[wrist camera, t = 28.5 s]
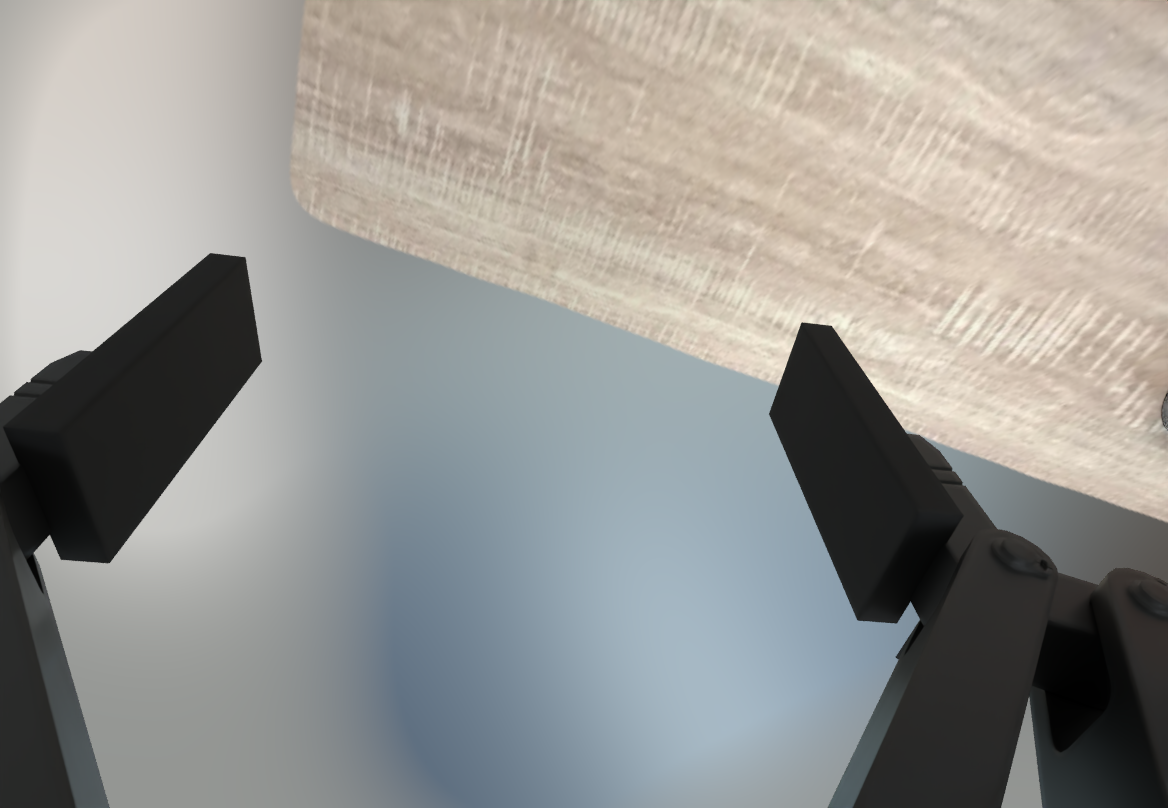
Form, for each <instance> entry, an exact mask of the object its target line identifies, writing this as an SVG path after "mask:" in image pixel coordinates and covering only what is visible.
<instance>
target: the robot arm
mask: <svg viewBox="0 0 1168 808" xmlns="http://www.w3.org/2000/svg"><path fill="white" fill-rule="evenodd" d="M261 362H262V359H261V353H260V346H259V340H258V334H257V327H256V321H255V315H254V308H253V302H252V296H251V289H250V283H249V277H248V270H247V264H246V258H245V257H238V256H230V255H221V254H213V253H210V254H209V255H208V256H206V257H205V258H204V259H203V260H202V261H200V262H199V263H198V264H197V265H196V266H194V267H193V268H192V269H191V270H190V271H189V272H187V273H186V274H185V275H184V276H183V277H181V278H180V279H179V280H178V281H176V282H175V283H174V284H173V285H172V286H171V287H169V288H168V289H167V290H166V291H164V292H163V293H162V294H161V295H160V296H159V297H157V298H156V299H155V300H154V301H153V302H151V303H150V304H149V305H148V306H147V307H145V308H144V309H143V310H142V311H141V312H139V313H138V314H137V315H136V316H135V317H133V318H132V319H131V320H130V321H129V322H128V323H126V324H125V325H124V326H123V327H121V328H120V329H119V330H118V331H117V332H116V333H114V334H113V335H112V336H111V337H109V338H108V339H107V340H106V341H105V342H103V344H101V345H100V346H99V347H97V348H96V349H95V350H94V351H93V352H91V351H82V350H81V351H77V352H75V353H73V354H71V355H68V356H66V357H64V358H61V359H59V360H57V361H55V362H53V363H51V364H49V365H48V366H47V367H45V368H44V369H43V370H42V371H40V372H39V373H38V374H37V375H35V376H34V377H33V378H32V379H31V382H29V383H28V382H26V383H25V384H24V385H23V386H21V387H20V388H19V389H18V390H16V391H15V392H14V396H9V397H7V398H6V399H5V400H4V401H3V402H1V403H0V808H110V807H109V804H108V800H107V797H106V794H105V790H104V787H103V783H102V780H101V776H100V773H99V769H98V766H97V762H96V759H95V755H94V752H93V748H92V745H91V742H90V739H89V735H88V731H87V728H86V725H85V721H84V717H83V714H82V710H81V707H80V703H79V700H78V696H77V693H76V690H75V686H74V683H73V679H72V676H71V672H70V669H69V665H68V662H67V658H66V655H65V651H64V648H63V645H62V641H61V638H60V634H59V631H58V627H57V624H56V620H55V617H54V613H53V610H52V606H51V603H50V599H49V596H48V593H47V590H46V586H45V582H44V579H43V575H42V572H41V568H40V565H39V564H38V561H37V559H36V557H35V555H34V552H35V550H36V549H37V548H38V547H39V546H40V545H41V544H42V542H43V541H44V540H45V539H46V538H47V537H48V536H49V535H50V536H51V538H52V540H53V543H54V545H55V547H56V550H57V552H58V554H59V556H60V559H61V560H72V561H86V562H98V563H110V562H111V561H112V559H113V558H114V556H115V555H116V554H117V553H118V551H119V550H120V549H121V547H122V546H123V545H124V543H125V542H126V541H127V539H128V538H129V537H130V535H131V534H132V533H133V531H134V530H135V529H136V527H137V526H138V525H139V523H140V522H141V521H142V519H143V518H144V517H145V516H146V514H147V513H148V512H149V510H150V509H151V508H152V506H153V505H154V504H155V502H156V501H157V500H158V498H159V497H160V496H161V494H162V493H163V492H164V490H165V489H166V488H167V486H168V485H169V484H170V482H171V481H172V480H173V478H174V477H175V476H176V474H177V473H178V472H179V470H180V469H181V468H182V467H183V465H184V464H185V463H186V461H187V460H188V459H189V457H190V456H191V455H192V453H193V452H194V451H195V449H196V448H197V446H198V445H199V444H200V443H201V441H202V440H203V439H204V437H205V436H206V435H207V433H208V432H209V431H210V429H211V428H212V427H213V425H214V424H215V423H216V421H217V420H218V418H220V416H221V415H222V413H223V412H224V411H225V410H226V408H227V407H228V406H229V404H230V403H231V401H232V400H233V399H234V398H235V396H236V395H237V393H238V392H239V391H240V390H241V388H242V387H243V386H244V384H245V383H246V382H247V380H248V379H249V378H250V376H251V375H252V374H253V372H254V371H255V370H256V368H257V367H258V366H259V365H260V363H261ZM769 415H770V417H771V419H772V422H773V424H774V427H775V429H776V431H777V434H778V436H779V438H780V441H781V443H782V445H783V448H784V450H785V452H786V455H787V457H788V459H789V462H790V464H791V466H792V469H793V471H794V473H795V476H796V478H797V480H798V483H799V484H800V487H801V490H802V492H803V494H804V497H805V499H806V501H807V504H808V506H809V508H810V510H811V513H812V515H813V518H814V520H815V522H816V525H817V527H818V529H819V532H820V534H821V536H822V539H823V541H824V543H825V546H826V548H827V550H828V553H829V555H830V557H831V560H832V562H833V564H834V567H835V569H836V571H837V574H838V576H839V578H840V580H841V583H842V585H843V588H844V590H845V592H846V595H847V597H848V599H849V602H850V604H851V606H852V608H853V611H854V613H855V616H856V618H857V620H859V621H872V622H885V623H897V622H898V621H899V619H900V617H901V616H902V614H903V613H904V611H905V610H906V608H907V606H908V605H909V603H910V601H911V603H912V605H913V607H914V608H915V610H916V612H917V614H918V616H919V618H920V621H919V622H918V624H917V625H916V627H915V628H914V630H913V631H912V633H911V634H910V636H909V637H908V639H907V641H906V642H905V644H904V645H903V647H902V648H901V650H900V651H899V653H898V654H897V656H896V658H897V659H899V660H898V662H897V664H896V666H895V669H894V671H893V673H892V675H891V677H890V679H889V681H888V683H887V685H886V687H885V689H884V692H883V694H882V696H881V698H880V700H879V702H878V704H877V706H876V708H875V710H874V712H873V714H872V716H871V719H870V721H869V723H868V725H867V727H866V729H865V731H864V733H863V735H862V737H861V739H860V741H859V744H858V745H857V748H856V750H855V752H854V754H853V756H852V758H851V760H850V762H849V765H848V767H847V768H846V771H845V773H844V775H843V777H842V779H841V781H840V783H839V785H838V787H837V789H836V791H835V793H834V795H833V798H832V800H831V802H830V804H829V806H828V808H1001V805H1002V802H1003V797H1004V794H1005V790H1006V786H1007V782H1008V778H1009V774H1010V769H1011V766H1012V761H1013V758H1014V754H1015V749H1016V745H1017V741H1018V737H1019V733H1020V730H1021V726H1022V721H1023V718H1024V714H1025V710H1026V706H1027V702H1028V698H1029V697H1030V705H1031V714H1032V722H1033V731H1034V739H1035V747H1036V756H1037V765H1038V773H1039V782H1040V789H1041V798H1042V807H1043V808H1168V583H1166V582H1164V581H1163V580H1161V579H1159V578H1155V577H1153V576H1151V575H1149V574H1147V573H1144V572H1141V571H1137V570H1133V569H1129V568H1116V569H1114V570H1113V571H1111V572H1110V573H1108V574H1107V576H1106V577H1105V578H1104V579H1103V580H1102V581H1101V583H1100V584H1099V585H1096V584H1093V583H1090V582H1087V581H1083V580H1080V579H1077V578H1074V577H1070V576H1067V575H1064V574H1061V573H1058V572H1057V568H1056V566H1055V565H1054V563H1053V562H1052V561H1051V559H1050V557H1049V556H1048V555H1046V554H1045V553H1044V552H1043V551H1042V550H1041V549H1040V548H1039V547H1038V546H1036V545H1034V544H1033V543H1031V542H1029V541H1028V540H1026V539H1025V538H1023V537H1021V536H1018V535H1016V534H1013V533H1011V532H1008V531H1005V530H998V529H997V528H996V527H995V526H994V524H993V523H992V521H991V520H990V519H989V517H988V516H987V515H986V513H985V512H984V511H983V509H982V508H981V507H980V505H979V504H978V502H977V501H976V500H975V498H974V497H973V496H972V494H971V493H970V492H969V490H968V489H967V487H966V486H963V485H962V481H961V479H960V478H959V477H958V475H957V474H956V473H955V472H953V471H952V467H951V466H950V464H949V463H948V462H947V461H946V459H945V458H944V456H943V455H942V454H941V452H940V451H939V450H938V449H936V448H935V447H934V446H933V445H931V444H930V443H929V442H927V441H926V440H925V439H924V438H922V437H921V436H920V435H914V434H907V433H906V432H905V431H904V429H903V428H902V426H901V425H900V423H899V422H898V420H897V419H896V418H895V416H894V415H893V413H892V412H891V410H890V409H889V408H888V406H887V405H886V403H885V402H884V400H883V399H882V397H881V396H880V395H879V393H878V392H877V390H876V389H875V387H874V386H873V385H872V383H871V382H870V380H869V379H868V377H867V376H866V375H865V373H864V372H863V370H862V369H861V367H860V366H859V364H858V363H857V362H856V360H855V359H854V357H853V356H852V354H851V353H850V352H849V350H848V349H847V347H846V346H845V344H844V343H843V342H842V340H841V339H840V337H839V336H838V334H837V333H836V331H835V330H834V329H833V327H832V326H828V325H819V324H811V323H801V326H800V329H799V331H798V334H797V337H796V340H795V343H794V345H793V348H792V351H791V354H790V357H789V359H788V362H787V365H786V368H785V371H784V373H783V376H782V379H781V382H780V385H779V388H778V390H777V393H776V396H775V399H774V402H773V404H772V407H771V410H770V413H769Z"/></svg>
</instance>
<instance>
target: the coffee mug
mask: <svg viewBox="0 0 1168 808" xmlns="http://www.w3.org/2000/svg"><path fill="white" fill-rule="evenodd" d="M1162 419H1163V423H1164V426H1165V428H1166V429H1167V430H1168V394H1167V396H1166V398H1165V401H1164V404H1163V408H1162Z"/></svg>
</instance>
